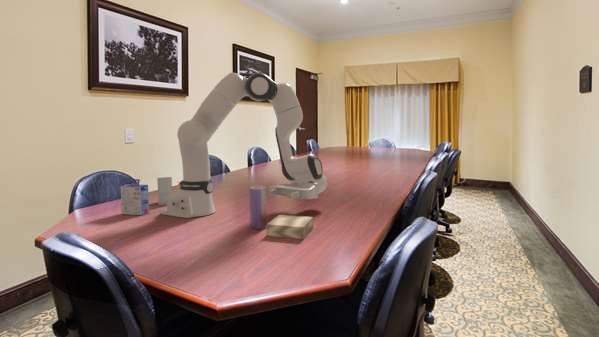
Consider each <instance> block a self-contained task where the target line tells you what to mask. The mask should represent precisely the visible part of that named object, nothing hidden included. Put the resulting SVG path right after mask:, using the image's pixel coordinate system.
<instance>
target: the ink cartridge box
mask: <svg viewBox="0 0 599 337" xmlns="http://www.w3.org/2000/svg"><path fill="white" fill-rule="evenodd" d="M140 181H141V179H139V178H138V179H137V178H135V179H134V178H132V180H131V183H130V184H124V185H121V186H120V200H121V205H120V206H121V214H122V215H129V216H130V215H131V216H143V215H146V214H149V213H150V198H149V185H148V184H140Z"/></svg>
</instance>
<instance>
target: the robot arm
mask: <svg viewBox="0 0 599 337" xmlns="http://www.w3.org/2000/svg"><path fill="white" fill-rule="evenodd" d="M245 97H247V98H250V99H252V100H254V101H256V102H262V101H268V102H269V103H270V104H271V106H272V107H273V111H274V113H275V116H276V122H277V123H276V127H275V129H274V130H275V131H274V132H275V139H276V143H277V147H278V148H277V149H278V152H279V157H280V163H281V172H282V175H283V176H284V178H286V180H288V181H291V183H290V184H288V183H277V184H272V185H270V186H269V195H270V196H281V197H287V198H288V199H292V198H294V199H296V200H300V201H302V200H316V199H318V198H319V194H321V193H322V192H324V191H325V190H326V188H327V186H328V180H327V177H326V176H325V175H324V174H323V165H322V161H321V160H320V159H319V157H318V156H317V155H315V154H313V153H309V154H305V155H302V156H297V157H295V156H293V152H292V148H291V143H290V137H291V135H292V133H294V132H295V131H296V130H297V129H298V128H299V127H300V126H301V124H302V123H303V119H304V115H303V110H302V107H301V104H300V101H299V99H298V97H297V95H296V93H295V91H294V89H293V87H292V86H291V85H290V84H289V83H286V82H282V83H281V82H279V83H276V82H275V81H274V80H273V79H272V78H271V77H269V75H267V74H265V73H262V72H256V73H253V74H251V75H250V76H249V77H243V76H242V75H241V74H239V73H236V72H230V73H228V74H227V75H225V76H224V77H223V78H222V79H221V80H219V81H218V83H217V84H216V85H215V86H214V87H213V89H212V90H211V91H210V93H209V94H208V95H207V96H206V97H205V99H203V101H202V102H201V103H200V106H199V107H198V109H197V110H196V112H195V114H194V115H193V116H192V118H191V119H190V120H186V121H184V122H183V123H181V124H180V125H179V127H178V129H177V135H176V136H177V139H178V144H179V150H180V156H181V163H182V177H183V179H182V180H181V181H178V182H177V186H180V187H179V189H178V190H177V191H175V192H174V193H172V196H171V197H170V198H169V199H168V201H167V205H166V207H165V208H164V209H162V210H161V212H160V213H161V214H160V215H164V216H171V217H176V218H177V217H178V218H184V219H190V218H194V217H195V218H196V217H202V216H203V217H204V216H210V215H213V214H214V213H216V208H215V204H214V200H213V199H214V198H213V194H212V192H213V181H212V178H211V161H210V155H209V149H208V148H209V147H208V142H209V141H210V139H212V137H213V135H214V134H215V133H216V131H218V129H219V127H220V126H221V125H222V123H223V122H224V120H225V119H226V118H227V117H228V116H229V114H230V113H231V112H232V111H233V109H234V108H235V107H236V106H237V104H238V103H239V102H240V101H241V100H242V99H243V98H245Z"/></svg>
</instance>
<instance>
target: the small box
mask: <svg viewBox="0 0 599 337" xmlns="http://www.w3.org/2000/svg"><path fill="white" fill-rule="evenodd" d="M156 178H157V180H156V182H157V202H158V206H167V201H168V199H169V198H170V197H171V196H172V195H173V182H172V181H173V180H172V174H164V175H163V174H160V175H157V176H156Z"/></svg>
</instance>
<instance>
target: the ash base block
mask: <svg viewBox="0 0 599 337" xmlns="http://www.w3.org/2000/svg"><path fill="white" fill-rule="evenodd" d="M313 229H314V217H313V216H304V215H288V214H287V215H286V214H279V215H277V216H276V217H274V218H273V219H271V221H269V222H267V226H266V236H268V237H276V238H278V237H279V238H287V239H300V240H304V239H305V238H306V237H307V236H308V235H309V234H310V232H311V231H312V230H313Z"/></svg>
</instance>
